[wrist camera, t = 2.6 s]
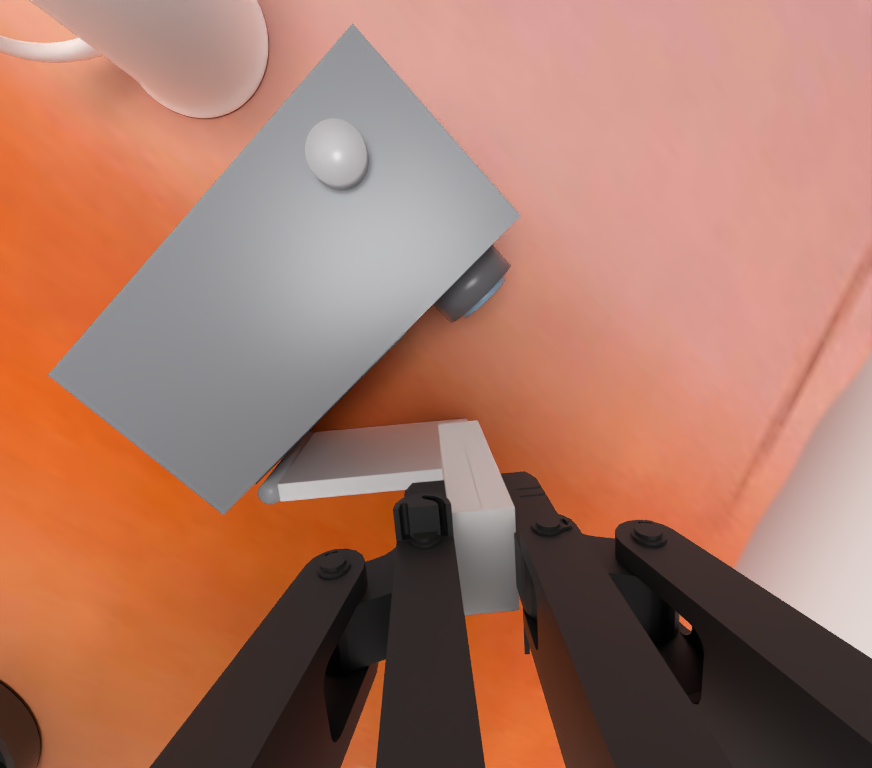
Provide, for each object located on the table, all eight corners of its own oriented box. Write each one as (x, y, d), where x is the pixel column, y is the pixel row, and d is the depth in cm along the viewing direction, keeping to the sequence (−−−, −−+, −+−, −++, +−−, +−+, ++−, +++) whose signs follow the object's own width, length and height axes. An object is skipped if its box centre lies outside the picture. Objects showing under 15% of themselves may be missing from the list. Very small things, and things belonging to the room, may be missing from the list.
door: (303, 459, 31) (262, 520, 23) (299, 432, 31) (255, 484, 22) (468, 444, 32) (487, 499, 23) (466, 416, 31) (484, 463, 23)
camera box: (304, 461, 31) (246, 551, 21) (171, 346, 29) (28, 379, 18) (504, 262, 29) (556, 246, 18) (375, 120, 27) (348, 7, 16)
